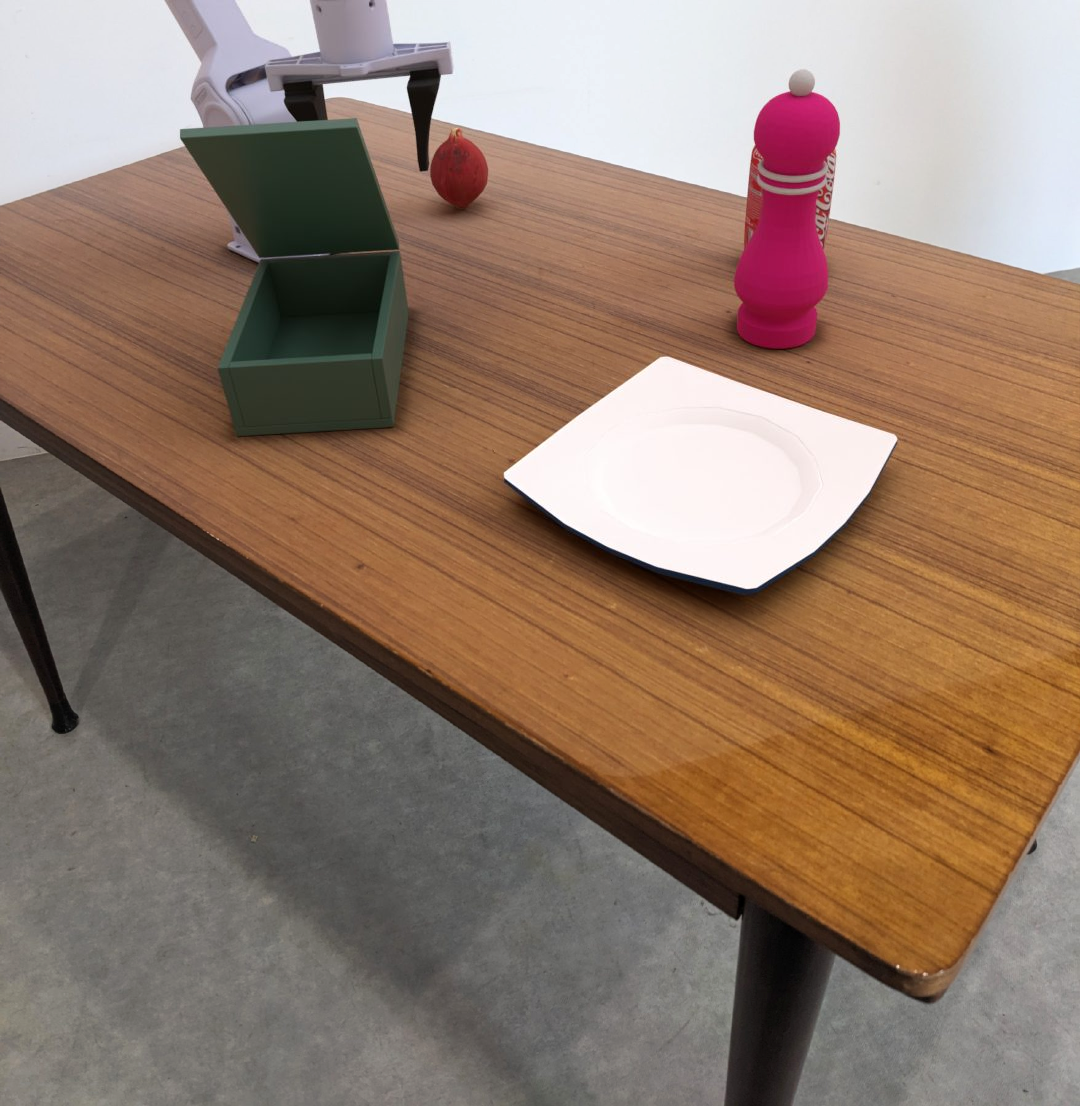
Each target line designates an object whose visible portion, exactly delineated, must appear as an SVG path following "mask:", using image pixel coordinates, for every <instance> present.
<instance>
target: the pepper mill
mask: <svg viewBox="0 0 1080 1106" xmlns="http://www.w3.org/2000/svg"><path fill="white" fill-rule="evenodd" d="M815 84H816V78H815V75H814V74H813V73H812V72H811V71H810V70H808V69H805V68H802V69H798V70H796V71H795V72H794V73H792V74H791V76H790V77H789V80H788V91H786V92H783V93H780V94H777V95H776V96H774V97H772V98H771V99H769V100H768V101H767V102H766V103H765V104H764V105H763V106H762V108H761V109H760V111H759V112H758V115H757V117H756V120H755V123H754V128H753V143H754V146H756V149H757V150H758V152H759V153H760V155H761V156H762V157H763V160H761V161H760V162H759V164H758V170H759V175H758V176H757V183H758V184H759V186H761V187H762V198H763V201H762V209H761V215H760V218H759V221H758V224H757V227H756V229H755V231H754V233H753V235H752V237H751V238H750V240H749V242H748V244H747V245H746V247H745V249H744V248H743V250H742V252H741V254H740V257H739V260H738V262H737V265H736V269H735V273H734V279H733V285H734V286H733V287H734V290H735V293H736V295H737V298H739V300H740V301H741V302H742V303H740V304H739V307H738V309H737V318H736V319H737V321H736V331H737V333H738V335H739V337H740V338H741V339H743V340H744V341H745V342H747V343H749V344H751V345H754V346H757V347H759V348H764V349H773V350H784V349H792V348H797V347H800V346H803V345H805V344H807V343H808V342H809V341H811V340H812V339H813V338H814V336H815V334H816V330H817V329H816V328H817V321H818V310H817V308H816V306H817V305H818V304H819V303H820V302H821V301H822V300H823V298H824V297H825V295H826V294H827V290H828V288H829V266H828V260H827V257H826V253H825V249H824V250H823V247H822V245H821V242H820V239H819V236H818V232H817V229H816V221H815V210H816V201H817V197H818V193H819V190H820V189H821V188H823V187H824V186H825V184H826V181H827V178H826V173H827V171H828V165H827V163H826V162H825V161H824V160H825V159H826V158H827V157H828V156H829V155H830V154H831V153H832V152H833V151H834V149H836V147H837V145H838V143H839V139H840V135H841V121H840V115H839V112H838V111H837V108H836V107H835V105H834V104H833V103H832V101H830V99H829V98H827V97H825V96H824V95H823V94H820V93H817V92H814V91H813V90H814V88H815Z"/></svg>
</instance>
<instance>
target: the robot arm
mask: <svg viewBox="0 0 1080 1106" xmlns="http://www.w3.org/2000/svg"><path fill="white" fill-rule="evenodd" d="M164 2H165V4H166V5H167V7H168V9H169V11H170V13H171V14H172V16H173V17H174V19H175V21H176V22H177V24H178V26H179V27H180V30H181V31H182V33H183V34H184V36H185V38H186V39H187V41H188V43H189V45H190V46H191V48H192V50H193V51H194V53H195V55H196V56H197V58H198V60H199V62H200V66H199V69H198V71H197V73H196V75H195V78H194V80H193V84H192V87H191V93H190V100H191V102H192V104H193V106H194V108H195V110H196V112H197V113H198V116H199V118H200V121H201V124H202V128H205V127H222V126H238V125H254V124H270V123H286V122H302V121H318V120H329V118H328V111H327V104H326V99H325V98H326V97H325V91H324V85H329V84H341V83H349V82H350V83H351V82H359V81H370V80H379V79H382V80H383V79H390V78H391V79H392V78H400V77H409V78H408V81H407V84H406V92H407V97H408V100H409V102H408V103H409V106H410V111H411V115H412V122H413V128H414V133H415V144H416V145H415V146H416V157H417V165H418V171H419V172H421V173H422V172H428V171H429V170H430V169H429V168H430V153H429V152H430V151H429V149H430V147H429V145H430V131H431V125H432V123H431V122H432V117H433V112H434V108H435V104H436V100H437V97H438V93H439V89H440V84H441V79H442V76H444V75H453V73H454V60H453V51H452V44H451V42H450V41H443V42H425V43H424V42H419V43H418V42H416V43H415V42H410V43H408V42H407V43H402V42H401V43H394V40H393V35H392V28H391V22H390V21H391V20H390V16H389V10H388V9H389V8H388V2H387V0H309V3H310V4H309V5H310V8H311V13H312V19H313V23H314V28H315V34H316V38H317V44H318V48H319V51H315V52H310V53H304V54H299V55H294V56H292V54H291V52H290V50H289V49H287V48H286V47H284V46H282V45H280V44H277V43H275V42H274V41H270V40H268V39H266V38H264V37H261V36H259V35H258V34H256V33H254V31H253V29H252V27H251V26H250V24H249V22H248V20H247V19H246V17H245V16H244V14H243V12H242V10H241V8H240V6H239V5H238V3H237V1H236V0H164ZM226 212H227V215H228V220H229V223H230V228H231V231H232V235H233V236H232V237H233V239H234V240H233V241H230V242H229V243H227V244H226V246H227V249H228V250H230V251H232V252H234V253H237V254H239V255H241V256H243V257H245V258H247V259H249V260H251V261H254V262H256V263H258V264H259V262H260V259H273V258H289V257H306V256H322V255H331V254H318V255H301V256H285V257H268V258H259V257H258V255H257V254H256V252H255V251H254V249H253V248H252V246H251V245H250V243H249V242H248V240H247V239H246V237H245V236H244V234H243V233H242V231H241V230H240V228H239V227H238V225H237V224H236V222H235V221H234V219H233V217H232V216H231V214H230V213H229V211H228V210H227V209H226Z"/></svg>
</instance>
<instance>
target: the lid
mask: <svg viewBox="0 0 1080 1106" xmlns="http://www.w3.org/2000/svg"><path fill="white" fill-rule="evenodd" d="M179 139H180V141H181V143H183V145H184V147H185V148H186V150H187V151H188V153H189V155H190V156H191V157H192V159H193V160H194V162H195V163H196V165H197V166H198V168H199V169H200V171H201V172H202V174H203V176H204V177H205V178H206V180H207V181H208V183H209V185H210V186H211V187H212V189H213V190H214V192H215V194H216V195H217V196H218V199H220V201H221V202H222V204H223V205H224V207H225V208H226V211H227V210H228V211H229V213H230V214H231V216H232V217H233V219H234V221H235V222H236V224H237V225H238V227H239V228H240V230H241V231H242V233H243V234H244V236H245V237H246V239H247V240H248V242H249V243H250V245H251V246H252V248H253V249H254V251H255V252H256V254H257V255H258V257H259V258H268V257H285V256H301V255H318V254H330V255H335V254H351V253H368V252H384V251H400V242H399V238H398V235H397V232H396V229H395V227H394V223H393V221H392V218H391V215H390V212H389V209H388V206H387V202H386V200H385V197H384V194H383V191H382V188H381V186H380V182H379V179H378V177H377V173H376V171H375V167H374V165H373V163H372V159H371V156H370V153H369V151H368V147H367V144H366V141H365V139H364V135H363V133H362V130H361V127H360V124H359V121H358V118H356V117H354V118H351V117H350V118H337V119H335V118H334V119H328V120H318V121H302V122H286V123H270V124H254V125H238V126H222V127H205V128H203V127H191V128H180V129H179Z"/></svg>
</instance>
